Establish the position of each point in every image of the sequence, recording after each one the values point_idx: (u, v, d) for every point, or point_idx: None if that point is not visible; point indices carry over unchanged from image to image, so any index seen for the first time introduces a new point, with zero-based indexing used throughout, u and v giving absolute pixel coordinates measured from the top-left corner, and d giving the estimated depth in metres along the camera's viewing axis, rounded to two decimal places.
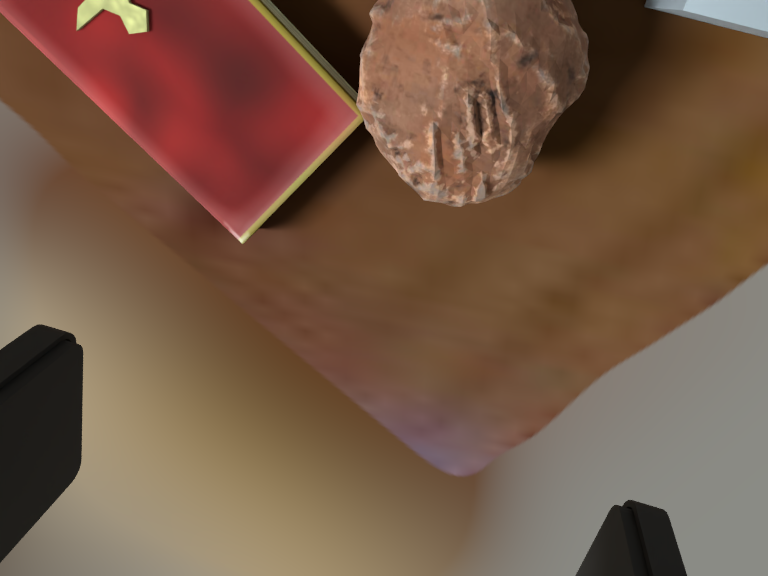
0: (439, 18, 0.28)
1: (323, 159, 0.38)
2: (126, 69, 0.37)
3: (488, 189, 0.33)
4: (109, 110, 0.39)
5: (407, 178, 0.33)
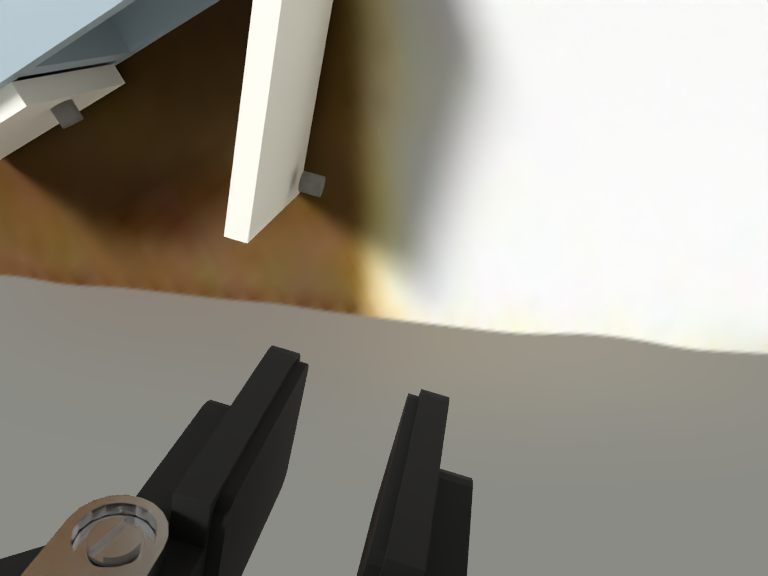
0: None
1: None
2: None
3: None
4: None
5: None
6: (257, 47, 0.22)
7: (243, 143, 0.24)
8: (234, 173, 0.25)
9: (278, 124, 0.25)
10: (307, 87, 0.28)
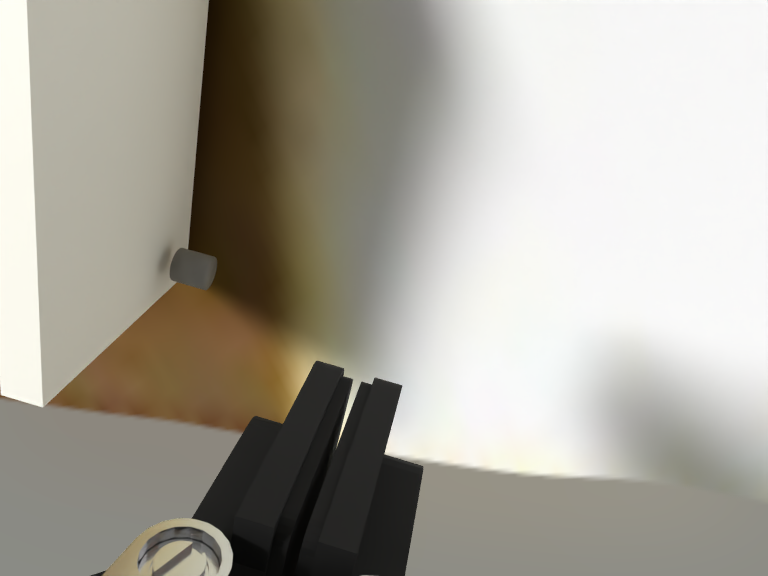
0: None
1: None
2: None
3: None
4: None
5: None
6: None
7: (4, 240, 0.13)
8: None
9: (90, 195, 0.14)
10: (168, 116, 0.16)
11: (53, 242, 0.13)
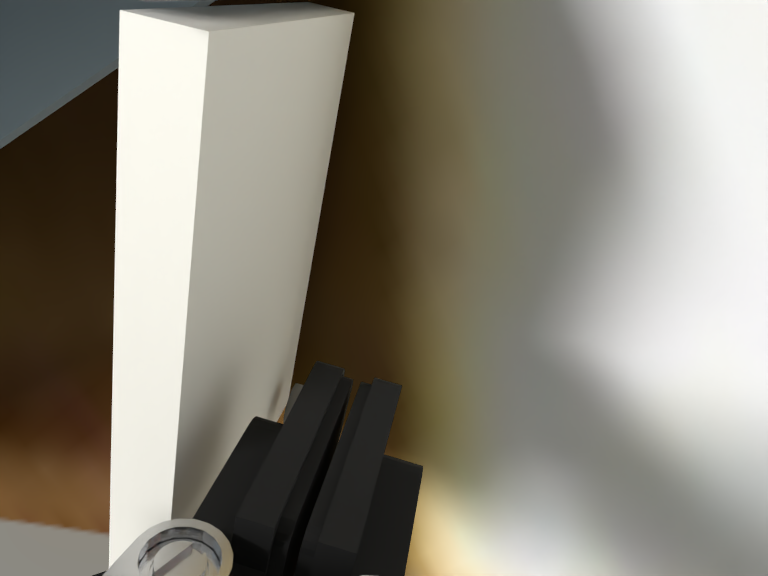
0: None
1: None
2: None
3: None
4: None
5: None
6: (143, 238, 0.08)
7: (131, 451, 0.09)
8: (116, 509, 0.10)
9: (226, 369, 0.11)
10: (296, 242, 0.13)
11: (190, 444, 0.10)
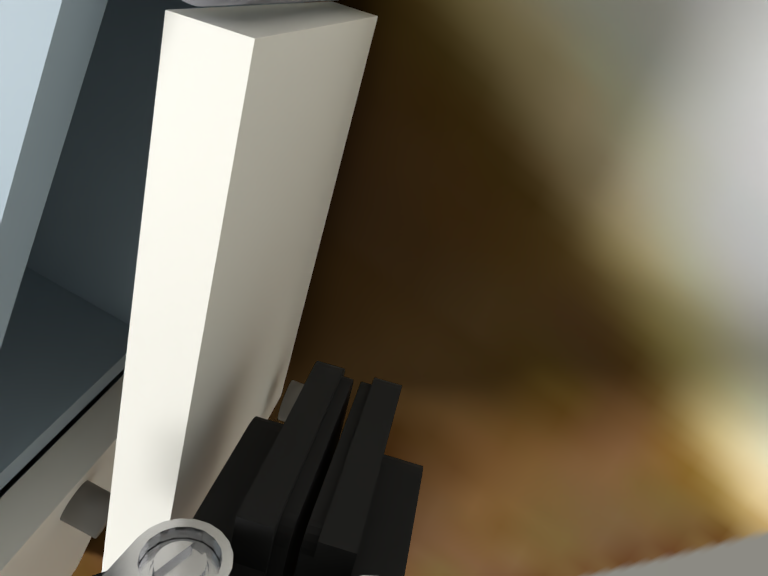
0: None
1: None
2: None
3: None
4: None
5: None
6: (169, 237, 0.08)
7: (136, 446, 0.09)
8: (116, 501, 0.10)
9: (233, 366, 0.11)
10: (304, 241, 0.13)
11: (195, 441, 0.10)
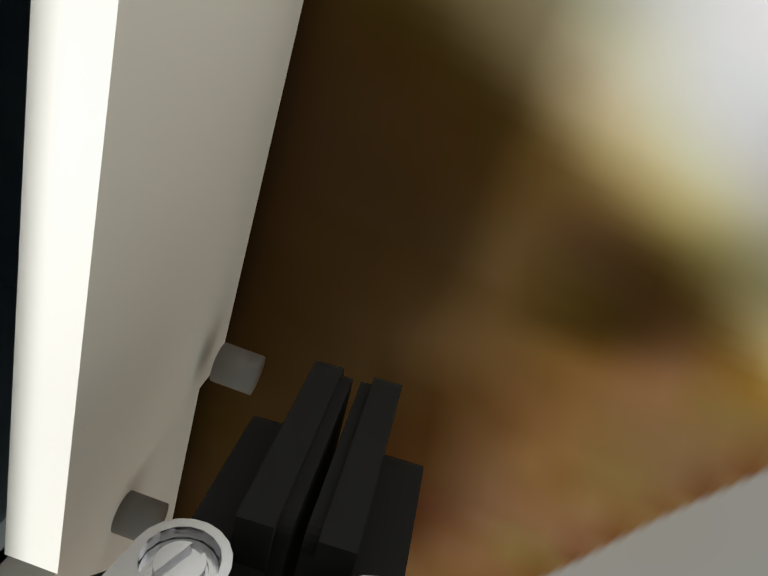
0: None
1: None
2: None
3: None
4: None
5: None
6: (51, 167, 0.08)
7: (32, 385, 0.09)
8: (16, 442, 0.10)
9: (143, 314, 0.11)
10: (232, 199, 0.13)
11: (95, 384, 0.10)
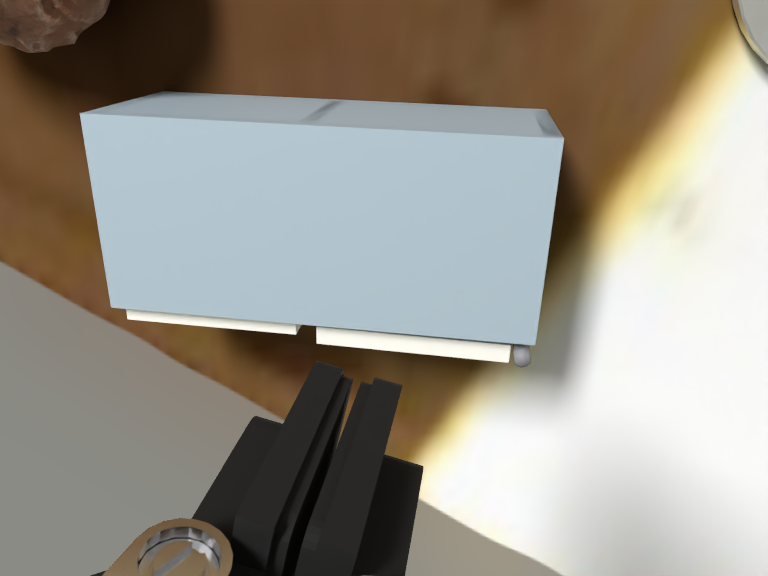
0: None
1: None
2: None
3: None
4: None
5: None
6: (459, 346, 0.33)
7: (391, 339, 0.33)
8: (367, 333, 0.33)
9: None
10: None
11: None
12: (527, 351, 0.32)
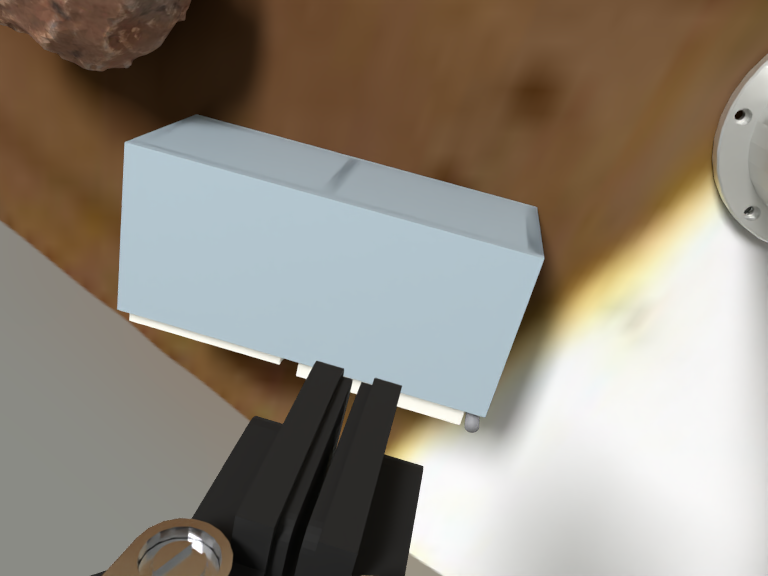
0: None
1: None
2: None
3: None
4: None
5: None
6: (419, 403, 0.37)
7: None
8: None
9: None
10: None
11: None
12: (477, 419, 0.37)
